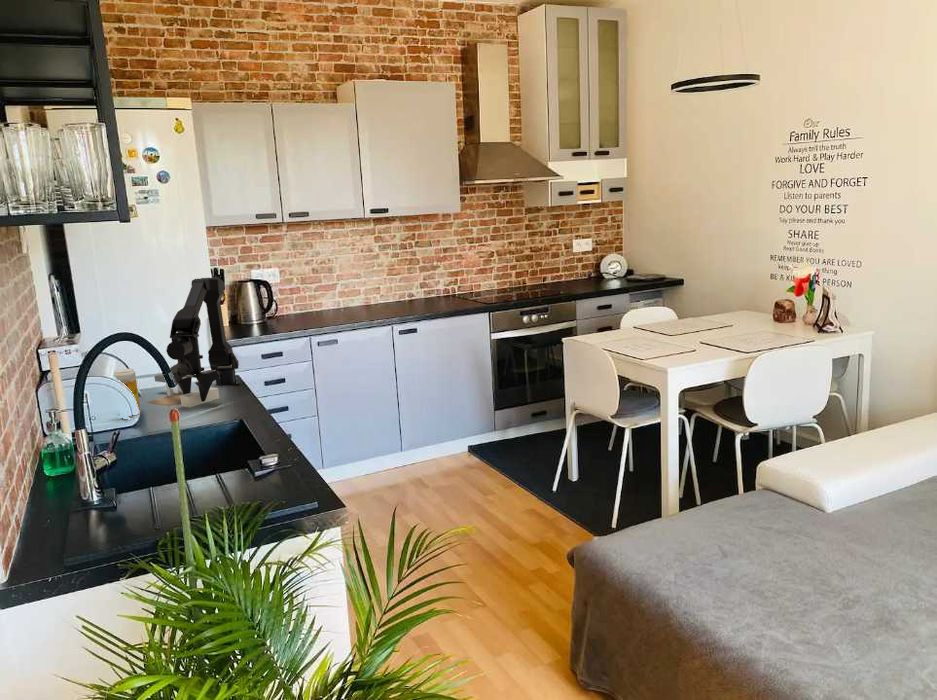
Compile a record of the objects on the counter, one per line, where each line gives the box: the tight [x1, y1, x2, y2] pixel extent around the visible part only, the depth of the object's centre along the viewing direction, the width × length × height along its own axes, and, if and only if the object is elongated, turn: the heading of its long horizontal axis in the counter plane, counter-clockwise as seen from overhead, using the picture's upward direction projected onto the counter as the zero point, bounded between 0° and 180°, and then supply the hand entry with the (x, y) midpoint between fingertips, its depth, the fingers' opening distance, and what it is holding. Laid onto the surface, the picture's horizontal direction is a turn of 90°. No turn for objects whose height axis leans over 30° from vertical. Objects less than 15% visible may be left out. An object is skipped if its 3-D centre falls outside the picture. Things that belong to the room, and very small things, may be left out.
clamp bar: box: [153, 373, 166, 384], centre depth 254 cm, size 2×11×2 cm, turn 61°
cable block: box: [180, 386, 220, 408], centre depth 242 cm, size 12×4×4 cm, turn 150°
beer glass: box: [113, 368, 142, 414], centre depth 229 cm, size 6×6×15 cm
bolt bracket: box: [165, 383, 183, 397], centre depth 253 cm, size 6×2×7 cm, turn 151°
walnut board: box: [145, 392, 184, 407], centre depth 248 cm, size 15×12×1 cm
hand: (195, 400), depth 240 cm, fingers open, 7 cm apart
